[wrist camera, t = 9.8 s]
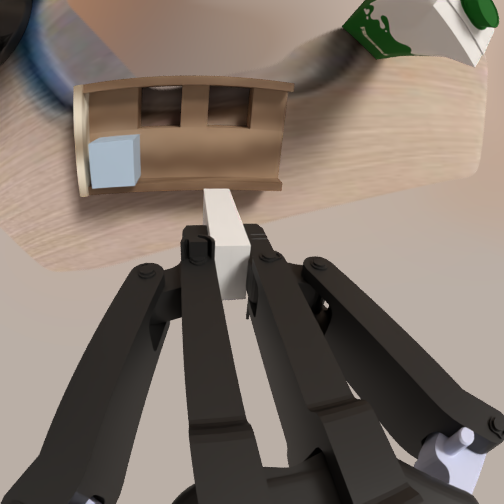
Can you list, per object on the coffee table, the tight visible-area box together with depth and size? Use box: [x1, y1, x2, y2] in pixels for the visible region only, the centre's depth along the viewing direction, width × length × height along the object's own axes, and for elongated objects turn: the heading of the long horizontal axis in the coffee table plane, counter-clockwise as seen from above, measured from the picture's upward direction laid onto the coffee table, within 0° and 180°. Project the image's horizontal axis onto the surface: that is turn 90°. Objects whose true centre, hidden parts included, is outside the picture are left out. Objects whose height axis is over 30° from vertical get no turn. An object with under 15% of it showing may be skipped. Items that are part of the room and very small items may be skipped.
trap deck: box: [74, 76, 294, 197], centre depth 30 cm, size 13×24×5 cm, turn 86°
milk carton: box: [342, 0, 499, 67], centre depth 19 cm, size 9×9×20 cm
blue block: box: [88, 134, 141, 189], centre depth 28 cm, size 5×5×4 cm
